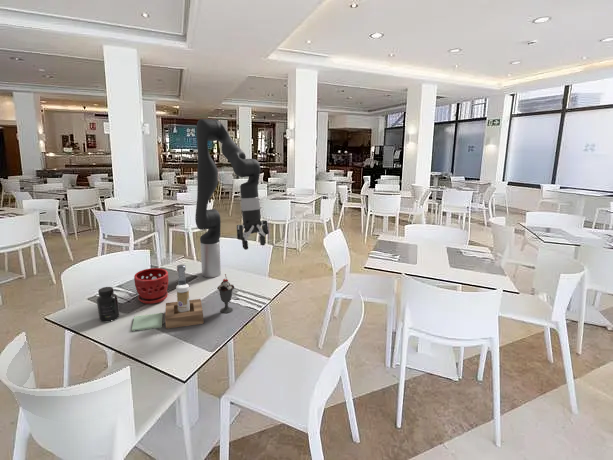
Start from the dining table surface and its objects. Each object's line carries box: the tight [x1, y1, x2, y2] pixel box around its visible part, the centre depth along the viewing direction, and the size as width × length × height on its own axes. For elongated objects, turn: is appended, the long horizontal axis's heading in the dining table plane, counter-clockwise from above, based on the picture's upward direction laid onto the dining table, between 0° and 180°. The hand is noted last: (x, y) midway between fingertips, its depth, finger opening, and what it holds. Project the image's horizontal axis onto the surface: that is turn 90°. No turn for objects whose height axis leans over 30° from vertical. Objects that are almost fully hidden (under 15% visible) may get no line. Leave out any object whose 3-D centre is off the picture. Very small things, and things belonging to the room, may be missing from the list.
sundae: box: [217, 273, 235, 314], centre depth 143 cm, size 7×7×15 cm
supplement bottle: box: [96, 286, 120, 322], centre depth 135 cm, size 7×7×12 cm
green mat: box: [131, 312, 164, 332], centre depth 134 cm, size 10×10×1 cm
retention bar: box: [176, 264, 187, 286], centre depth 137 cm, size 17×3×2 cm, turn 20°
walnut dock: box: [164, 270, 204, 330], centre depth 139 cm, size 19×13×16 cm
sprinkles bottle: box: [175, 283, 190, 313], centre depth 136 cm, size 5×5×14 cm
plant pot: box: [133, 267, 169, 305], centre depth 151 cm, size 13×13×12 cm
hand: (254, 247), depth 149 cm, fingers open, 8 cm apart
